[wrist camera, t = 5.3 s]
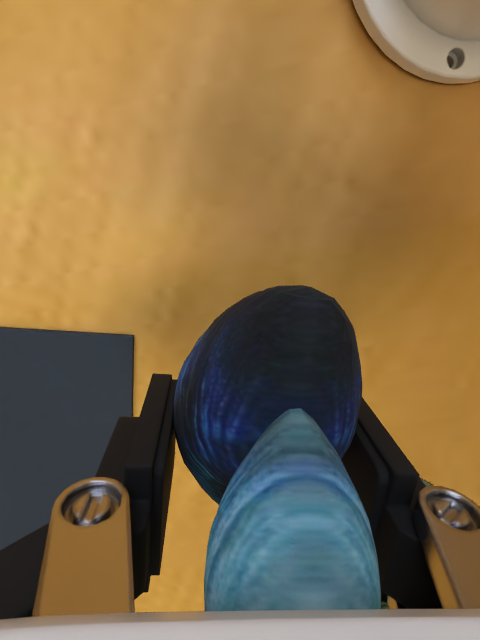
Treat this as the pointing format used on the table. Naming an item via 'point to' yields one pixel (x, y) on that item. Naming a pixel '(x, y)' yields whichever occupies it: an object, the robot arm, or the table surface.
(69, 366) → the mat
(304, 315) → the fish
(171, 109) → the table surface
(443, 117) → the table surface
